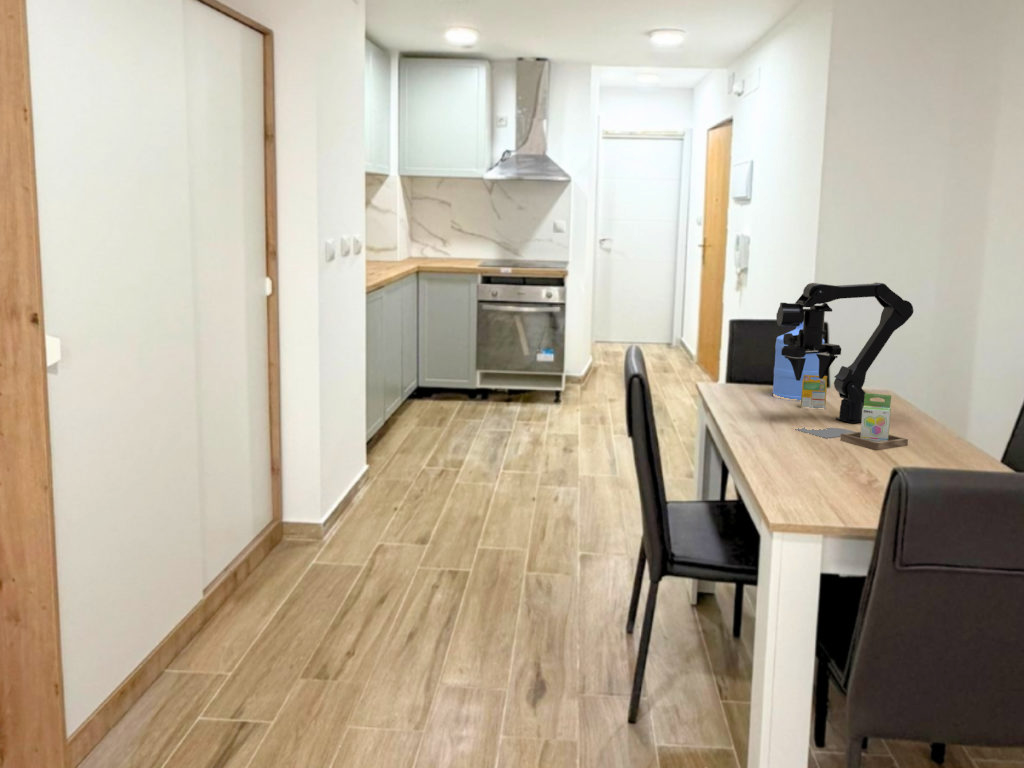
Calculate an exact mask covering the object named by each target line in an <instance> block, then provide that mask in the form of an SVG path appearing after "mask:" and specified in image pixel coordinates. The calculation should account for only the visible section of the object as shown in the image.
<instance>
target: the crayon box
mask: <svg viewBox="0 0 1024 768" xmlns="http://www.w3.org/2000/svg"><path fill="white" fill-rule="evenodd" d="M810 377H817V378H819V376H815V375H804V377H803V381H802V397H801V401H800V408H801V407H809V408H824V409H825V410H826V401H827V389H828V375H824V377H823V379H820V380H814V379H810Z"/></svg>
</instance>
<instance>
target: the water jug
mask: <svg viewBox="0 0 1024 768" xmlns="http://www.w3.org/2000/svg"><path fill="white" fill-rule="evenodd" d="M800 329H803V323H802V324H800V325H799V326H795V329H792V330H789V332H786V333H784V334H787V333H792V335H799V330H800ZM784 334H781V335H778V336H777V337H776V341H775V345H774V346H775V347H774V348H775V352H774V353H775V354H774V355H775V356H774V367H773V386H772V387H773V388H772V393H773V394H775V395H777V396H780V397H784V398H789V399H797V400H801V397H802V381H803V377H804V375H815V376H819V359H818V357H817V355H816V354H820V353H812V354H806V355H805V356H804V357H803V358H806V360H805V364H804V368H803V372H802V376H801V379H800V381H797V380H796V378H795V374H794V371H793V367H792V364H791V362H790V361H789V360H788V359H787V358H785V357H784V356H783V355H781V353H782V348H783V347H784V346H788V345H785V344H784V343H783V338H784ZM825 343H826V342H825V339H824V338H823V342H822V344H825ZM810 379H814V380H820V378H817V377H810ZM772 393H771V394H772Z"/></svg>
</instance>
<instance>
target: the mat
mask: <svg viewBox="0 0 1024 768" xmlns="http://www.w3.org/2000/svg"><path fill="white" fill-rule="evenodd" d="M826 429H827V430H826ZM826 429H823V430H821V429H819V430H814V429H812V430H807V429H805V427H804V428H802V429H799V428H798V429H795V430H794V431H797V430H798V431H797V432H800V431H801V432H800V433H805V434H807V433H809V434H808V435H811V434H812V435H811V436H814V435H815V437H818V436H819V437H818V438H821V437H822V438H821V439H827V440H828V438H829V439H835V438H836V439H837V438H840V437H841V434H846V433H854V432H856V431H854V430H850V429H846V428H839V427H830V428H826Z"/></svg>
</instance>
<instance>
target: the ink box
mask: <svg viewBox="0 0 1024 768" xmlns="http://www.w3.org/2000/svg"><path fill="white" fill-rule="evenodd" d="M874 398H879V399H883V401H876V400H871V399H874ZM891 404H892V394H891V395H890V394H879V393H871V392H870V393H869V392H866V393H865V398H864V406H863V409H862V422H860V423H861V424H860V432H861V436H860V438H862V439H866V440H870V441H873V442H882V441H888V437H889V435H890V423H891V414H892V413H891Z"/></svg>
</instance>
